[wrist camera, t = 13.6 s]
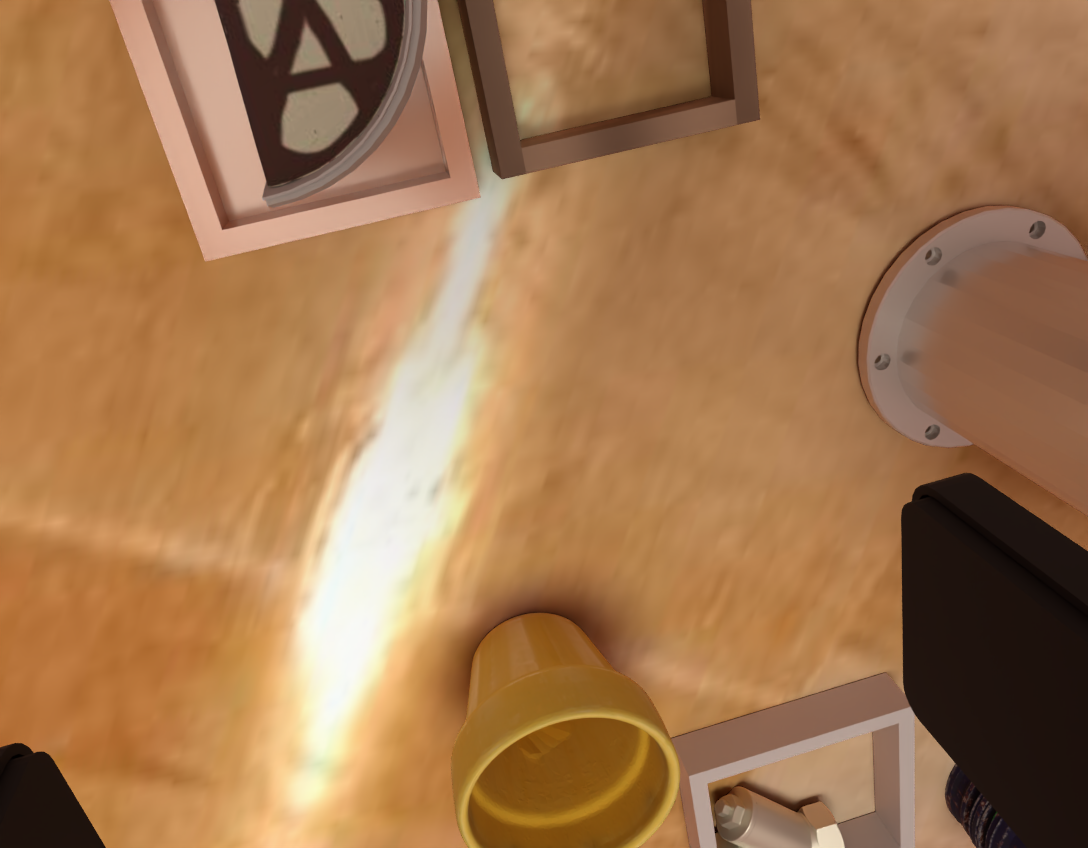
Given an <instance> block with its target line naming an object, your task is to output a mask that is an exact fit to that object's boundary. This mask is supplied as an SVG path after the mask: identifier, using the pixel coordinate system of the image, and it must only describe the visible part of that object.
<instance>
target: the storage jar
mask: <svg viewBox="0 0 1088 848" xmlns="http://www.w3.org/2000/svg"><path fill="white" fill-rule="evenodd" d="M945 798H946V804H947V806H948V808H949V811H950V812H951V813H952V814H953V816H954V817H955V818H956V819H957V821H958V822H959V823H961V824H962V825H963V827H964V829H965V831H966V832H967V834H968V835H969V836H970V838H971V840H972V842H973V844H974V845H975V846H976V848H1027V847H1026V846H1025V845H1024V844H1023V842H1022V841H1021V840H1020V839H1019V838H1018V836H1017V835H1016V834H1015V833H1014V832H1013V830H1012V829H1011V828H1010V827H1009V826H1008V825H1007V823H1006V822H1005V821H1004V820H1003V819H1002V817H1001V816H1000V815H999V814H998V813H997V812H996V810H995V809H994V808H993V807H992V806H991V804H990V803H989V802H988V801H987V800H986V799H985V797H984V796H983V795H982V794H981V793H980V791H979V790H978V789H977V788H976V787H975V786H974V784H973V783H972V782H971V781H970V780H969V778H968V777H967V776H966V775H965V774H964V773H963V771H962V770H961V769H960V768H959V767H958V765H957V764H955V766H954V768H953V769H952V771H951V773H950V776H949V778H948V781H947V785H946V789H945Z"/></svg>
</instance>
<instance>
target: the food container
mask: <svg viewBox="0 0 1088 848" xmlns="http://www.w3.org/2000/svg"><path fill="white" fill-rule="evenodd" d="M427 2H428V0H215V4H216V7H217V11H218V14H219V17H220V21H221V24H222V27H223V31H224V34H225V37H226V41H227V44H228V48H229V52H230V55H231V59H232V62H233V66H234V70H235V73H236V77H237V80H238V84H239V88H240V91H241V95H242V98H243V102H244V105H245V109H246V112H247V116H248V120H249V123H250V127H251V130H252V134H253V137H254V141H255V144H256V148H257V151H258V155H259V158H260V161H261V165H262V168H263V172H264V175H265V178H266V184H265V188H264V192H263V196H262V199H263V201H264V200H266V203H267V206H269V207H273V208H274V207H278V206H282V205H285V204H289V203H292V202H296V201H299V200H302V199H305V198H307V197H309V196H311V195H313V194H315V193H318V192H320V191H322V190H324V189H326V188H329V187H330V186H332V185H333V184H335V183H336V182H338V181H339V180H341V179H342V178H344V177H345V176H347V175H348V174H350V173H351V172H353V171H354V170H355V169H356V168H358V167H359V166H360V165H361V164H362V163H363V162H364V161H365V160H366V159H367V158H368V157H369V156H370V155H371V154H372V153H373V152H374V151H375V150H376V149H377V148H378V147H379V146H380V144H381V143H382V142H383V140H384V139H385V138H386V136H387V135H388V134H389V132H390V131H391V130H392V128H393V127H394V126H395V124H396V123H397V121H398V119H399V117H400V115H401V113H402V111H403V109H404V107H405V106H406V104H407V102H408V100H409V98H410V96H411V93H412V90H413V87H414V84H415V81H416V78H417V75H418V72H419V69H420V66H421V62H422V56H423V50H424V45H425V39H426V33H427Z"/></svg>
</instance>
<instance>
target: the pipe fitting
mask: <svg viewBox="0 0 1088 848" xmlns="http://www.w3.org/2000/svg"><path fill="white" fill-rule="evenodd" d="M714 810H715V815H716V825H717V829H718V833H715V838H716V845H717V848H845V845H844V841H843V838H842V835H841V832H840V829H839V827H838V825H837V822H836V820H835V818H834V817H833V815H832V813H831V812H830V810H829V809H828V808H827V807H826V806H825V805H824V804H823V803H822V802H821V801H820V802H816V803H813V804H810V805H806V806H803V807H801V808H800V809H799V811H798V812H794V811H792V810H790V809H788V808H786V807H784V806H782V805H780V804H778V803H776V802H773V801H771V800H769V799H767V798H765V797H763V796H761V795H758V794H756V793H754V792H752V791H750V790H748V789H746V788H744V787H740V786H737V787H734V788H733V789H732V790H731V791H730V792H729V793H728V794H727V795H726V796H723V797H721V798H720V800H718V801H717V802H716V804H715V807H714Z"/></svg>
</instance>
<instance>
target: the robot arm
mask: <svg viewBox="0 0 1088 848" xmlns="http://www.w3.org/2000/svg"><path fill="white" fill-rule="evenodd" d="M858 366H859V371H860V377H861V382H862V386H863V389H864V391H865V393H866V396H867V398H868V400H869V403H870V404H871V406H872V407H873V409H874V410H875V411H876V413H877V414H878V415H879V417H880V418H881V419H882V420H883V421H885V422H886V423H887V424H888V425H890V426H891V427H892V428H893V429H894V430H896V431H898V432H899V433H901V434H902V435H904V436H906V437H907V438H909V439H910V440H912V441H915V442H918V443H920V444H923V445H927V446H933V447H943V448H953V447H963V446H970V445H974V444H975V445H976V446H978V447H979V448H981V449H983V450H984V451H986V452H987V453H989V454H990V455H992V456H994V457H995V458H997V459H998V460H1000V461H1001V462H1003V463H1005V464H1006V465H1008V466H1009V467H1011V468H1012V469H1014V470H1016V471H1017V472H1019V473H1020V474H1022V475H1023V476H1025V477H1027V478H1028V479H1030V480H1031V481H1033V482H1034V483H1036V484H1038V485H1039V486H1041V487H1042V488H1044V489H1046V490H1047V491H1049V492H1050V493H1052V494H1053V495H1055V496H1057V497H1058V498H1060V499H1061V500H1063V501H1064V502H1066V503H1068V504H1069V505H1071V506H1072V507H1074V508H1075V509H1077V510H1079V511H1080V512H1082V513H1083V514H1085V515H1086V516H1088V258H1087V256H1086V254H1085V252H1084V251H1083V249H1082V247H1081V245H1080V243H1079V241H1078V240H1077V239H1076V238H1075V236H1074V235H1073V234H1072V233H1071V232H1070V231H1069V230H1068V229H1067V228H1066V226H1064V225H1063V224H1061V223H1060V222H1058V221H1056V220H1055V219H1053V218H1052V217H1050V216H1048V215H1045V214H1042V213H1039V212H1036V211H1033V210H1030V209H1025V208H1019V207H1014V206H1009V205H1003V206H985V207H981V208H977V209H973V210H969V211H965V212H962V213H960V214H957V215H955V216H953V217H951V218H949V219H947V220H944V221H942V222H940V223H939V224H937V225H936V226H934V227H933V228H931V229H930V230H929V231H927V232H926V233H924V234H923V235H921V236H920V237H919V238H918V239H917V240H915V241H914V242H913V243H912V244H911V245H910V246H909V247H908V248H907V249H906V250H905V251H904V252H903V253H902V254H901V255H900V256H899V257H898V258H897V260H896V261H895V262H894V264H893V265H892V266H891V267H890V269H889V270H888V271H887V272H886V274H885V275H884V277H883V279H882V280H881V282H880V284H879V286H878V287H877V289H876V291H875V293H874V294H873V296H872V298H871V301H870V304H869V306H868V309H867V312H866V314H865V317H864V320H863V324H862V329H861V334H860V340H859V360H858ZM901 532H902V617H903V685H904V691H905V695H906V698H907V700H908V703H909V705H910V707H911V709H912V711H913V712H914V714H915V715H916V717H917V718H918V719H919V720H920V722H921V723H922V724H923V725H924V726H925V728H926V729H927V730H928V731H929V732H930V733H931V735H932V736H933V737H934V738H935V739H936V741H937V742H938V743H939V744H940V745H941V746H942V748H943V749H944V750H945V751H946V752H947V754H948V755H949V756H950V757H951V758H952V759H953V761H954V762H955V763H956V764H957V765H958V767H959V768H960V769H961V770H962V771H963V773H964V774H965V775H966V776H967V777H968V778H969V780H970V781H971V782H972V783H973V784H974V786H975V787H976V788H977V789H978V790H979V791H980V793H981V794H982V795H983V796H984V797H985V799H986V800H987V801H988V802H989V803H990V804H991V806H992V807H993V808H994V809H995V810H996V812H997V813H998V814H999V815H1000V816H1001V817H1002V819H1003V820H1004V821H1005V822H1006V823H1007V825H1008V826H1009V827H1010V828H1011V829H1012V830H1013V832H1014V833H1015V834H1016V835H1017V836H1018V838H1019V839H1020V840H1021V841H1022V842H1023V844H1024V845H1025V846H1026V847H1027V848H1088V551H1086V550H1085V549H1083V548H1082V547H1081V546H1079V545H1078V544H1076V543H1075V542H1073V541H1072V540H1070V539H1069V538H1067V537H1066V536H1064V535H1063V534H1061V533H1060V532H1059V531H1057V530H1056V529H1054V528H1053V527H1051V526H1050V525H1048V524H1047V523H1045V522H1044V521H1042V520H1041V519H1039V518H1038V517H1037V516H1035V515H1034V514H1032V513H1031V512H1029V511H1028V510H1026V509H1025V508H1023V507H1022V506H1020V505H1019V504H1018V503H1016V502H1015V501H1013V500H1012V499H1010V498H1009V497H1007V496H1006V495H1004V494H1003V493H1001V492H1000V491H998V490H997V489H996V488H994V487H993V486H991V485H990V484H988V483H987V482H985V481H984V480H982V479H981V478H979V477H978V476H976V475H973V474H971V473H963V474H960V475H956V476H953V477H949V478H946V479H942V480H938V481H935V482H931V483H928V484H924V485H921V486H919V487H918V488H916V489H915V491H914V494H913V497H912V502H909V503H907V504H905V505H904V507H903V509H902V515H901ZM0 848H106V847H105V846H104V844H103V842H102V841H101V839H100V837H99V836H98V834H97V832H96V831H95V829H94V827H93V826H92V824H91V822H90V821H89V819H88V817H87V816H86V814H85V812H84V810H83V809H82V807H81V805H80V804H79V802H78V800H77V799H76V797H75V795H74V794H73V792H72V790H71V789H70V787H69V785H68V784H67V782H66V780H65V779H64V777H63V775H62V774H61V772H60V770H59V769H58V767H57V765H56V764H55V762H54V760H53V759H52V758H51V757H50V755H49V754H47V753H45V752H36V753H33V752H32V750H31V749H30V748H29V747H28V746H26V745H24V744H22V743H14V744H10V745H7V746H3V747H0Z"/></svg>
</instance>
